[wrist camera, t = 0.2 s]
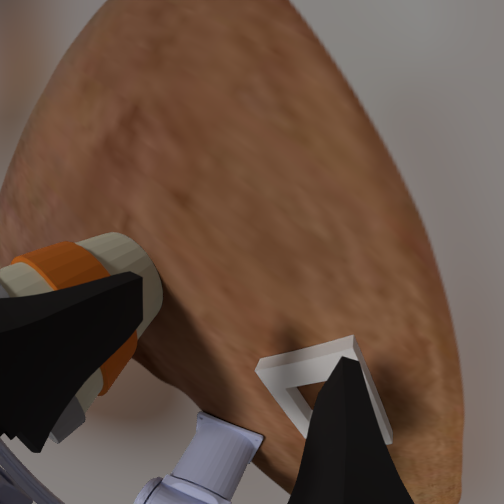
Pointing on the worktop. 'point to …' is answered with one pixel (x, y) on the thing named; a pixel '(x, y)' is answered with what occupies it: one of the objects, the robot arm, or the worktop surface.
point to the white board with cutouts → (315, 379)
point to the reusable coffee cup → (78, 272)
